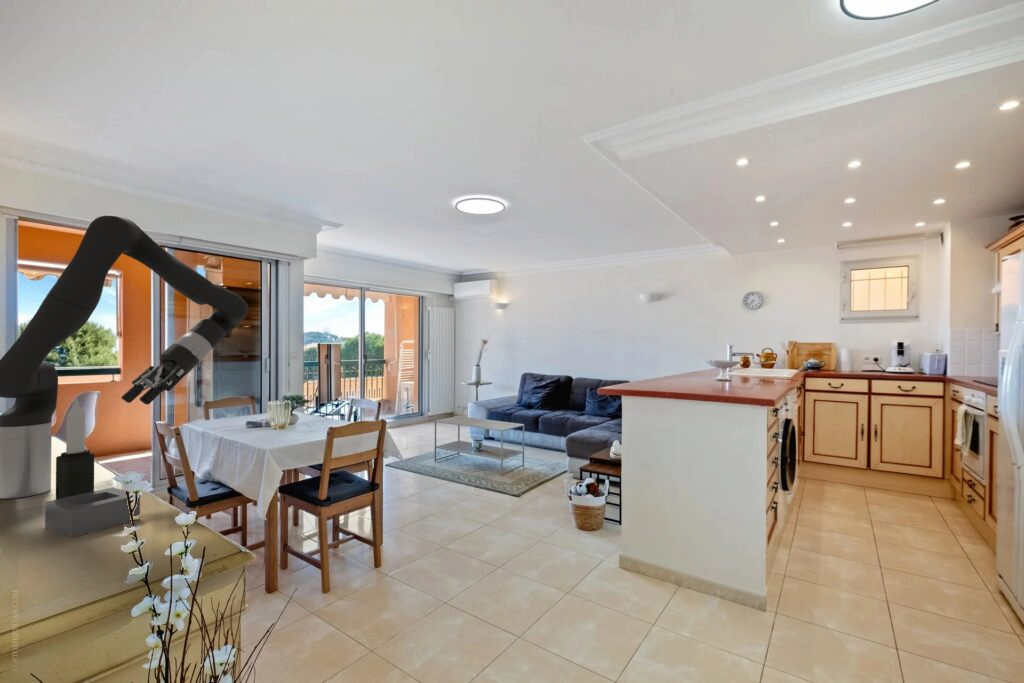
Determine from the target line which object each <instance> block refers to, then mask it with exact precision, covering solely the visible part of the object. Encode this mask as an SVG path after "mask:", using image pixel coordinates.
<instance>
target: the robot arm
mask: <svg viewBox="0 0 1024 683" xmlns="http://www.w3.org/2000/svg"><path fill="white" fill-rule="evenodd" d="M121 255H125V256H127V257H128V258H131V259H134V260H136V261H137V262H138V263H141V264H142V265H144V266H145V267H147V268H148V269H149V270H151V271H153V272H154V273H155V274H157V276H159V277H160V278H161V280H163V281H164V282H165V283H166V284H168V285H169V286H170V287H171V288H173V289H174V290H176V291H177V293H179V294H180V295H182V296H185V297H186V299H189V300H191V301H192V302H193V303H195V304H197V305H200V306H203V305H207V306H210V307H212V308H213V309H215V310H214V311H213V312H212V313H210V315H209V316H207V317H206V318H205V319H202V320H200V321H199V322H197V323H196V324H195V325H193V327H191V328H190V329H189V330H188V331H187V332H185V334H182V335H181V336H180V337H179V338H177V340H176V341H174V342H173V343H172V344H171V345H169V347H167V348H166V349H165V350H163V352H162V353H161V354H159V357H158V358H159V361H160V362H161V364H159V365H158V366H155V367H154V366H153V365H150V366H148V368H147V369H145V370H144V371H143V372H142V373H140V375H138V376H137V377H136V378H135V379H134V380H132V381H131V384H132V387H131V388H129V389H128V390H127V391H126V392H125V393H124V394H123V395H122V396H121V400H123V401H124V402H125V403H127V404H128V403H129V404H131V403H132V402H133V401H134V400H136V398H137V397H139V396H140V395H141V394H142V393H143V392H144V391H146V390H147V389H148V390H147V391H146V392H145V393H143V394H142V395H141V396H140V397H139V401H140V402H142V403H143V404H144V405H150V404H151V403H152V402H153V401H154V400H155V399H156V398H157V397H158V396H160V394H164V393H165V392H170V391H171V390H172V389H173V388H175V386H176V385H177V384H178V383H179V382H180V381H181V380H183V378H185V377H186V375H188V374H189V373H190V372H191V371H192V370H193V369H194V368H195V367H197V365H199V363H201V361H202V360H204V359H205V358H206V357H207V356H208V355H209V353H210V351H212V349H214V348H215V347H216V346H217V345H218V344H219V343H220V342H221V341H222V340H223V338H224V337H225V336H227V335H228V334H229V333H231V332H232V331H233V330H235V329H236V328H237V327H238V326H239V325H240V324H241V323H242V322H243V321H244V320H245V318H246V316H247V314H248V313H249V306H248V303H247V302H246V300H245V299H244V298H242V296H240V295H239V294H237V293H235V292H233V291H231V290H229V289H227V288H225V287H222V286H219V285H217V284H215V283H213V282H212V281H211V280H209V279H208V278H207V277H205V276H204V275H202V274H201V273H199V272H197V271H196V270H195V269H193V268H191V267H190V266H189V265H187V264H186V263H184V262H182V261H181V260H180V259H179V258H177V257H175V256H174V255H172V254H171V253H169V252H168V251H167V250H165V249H164V248H163V247H162V246H160V245H159V244H158V243H157V242H155V241H154V240H153V238H151V237H150V236H149V235H148V234H147V233H146V232H145V231H144V230H143V229H142V228H140V227H139V225H137V224H136V223H135V222H134V221H133V220H131V219H128V218H126V217H122V216H119V215H114V214H104V215H100V216H98V217H96V218H95V219H94V220H92V221H91V222H90V224H89V225H88V227H87V229H86V231H85V233H84V234H83V238H82V240H81V241H80V244H79V246H78V247H77V250H76V252H75V254H74V255H73V258H72V259H71V261H70V262H69V263H68V264H67V266H66V267H65V268H64V270H63V272H61V274H60V276H58V279H57V280H56V282H55V283H54V285H53V286H52V287H51V289H50V290H49V292H48V293H47V294H46V296H45V298H44V299H43V301H42V302H41V304H40V305H39V307H38V309H37V311H36V312H35V314H34V315H33V316H32V318H31V319H30V321H29V323H28V324H27V325H26V326H25V328H24V330H23V331H22V332H21V334H20V335H19V337H18V338H17V340H16V341H15V342H14V343H13V344H12V346H10V347H9V349H8V350H7V351H6V353H4V355H2V357H1V358H0V398H3V399H4V398H5V399H15V401H14V404H13V405H12V406H11V407H10V408H8V410H6V411H4V412H2V413H1V414H0V499H6V500H7V499H18V498H24V497H25V498H26V497H31V496H37V495H40V494H44V493H46V492H48V491H51V489H52V421H53V420H52V419H53V415H54V413H55V411H56V409H57V405H58V404H57V403H58V402H57V401H58V391H59V390H58V389H59V377H58V376H59V375H58V371H57V369H56V368H55V366H54V365H53V364H52V363H50V362H49V361H46V358H47V356H48V355H49V354H50V353H51V352H52V351H53V350H54V349H55V348H56V347H57V346H59V345H60V344H62V343H63V342H64V341H66V340H67V339H68V338H70V337H71V336H73V335H74V334H75V333H77V332H78V331H80V330H81V329H82V328H83V327H84V326H85V324H86V323H87V322H88V321H89V319H90V317H91V316H92V314H93V313H94V311H95V310H96V309H97V306H98V304H99V303H100V300H101V297H102V294H103V290H104V286H105V285H104V284H105V281H106V278H107V275H108V273H109V272H110V270H111V269H112V267H113V266H114V264H115V263H116V262H117V260H118V259H119V258H120V257H121Z"/></svg>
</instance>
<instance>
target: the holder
mask: <svg viewBox="0 0 1024 683" xmlns="http://www.w3.org/2000/svg"><path fill="white" fill-rule="evenodd" d="M126 491H127V490H124V489H119V488H115V487H108V488H103V489H99V490H94V492H89V493H84V494H80V495H75V496H70V497H66V498H61V499H56V498H55V499H52V500H48V501H45V502H44V503H45V506H44V528H46V527H47V529H49V528H50V529H49V530H51V529H52V530H51V531H54V532H56V531H57V532H56V533H58V534H61V533H62V534H61V535H63V534H65V535H64V536H66V535H67V536H66V537H68V536H70V537H69V538H71V537H72V538H75V537H74V536H76V537H79V536H82V535H81V534H83V535H85V533H87V534H89V533H88V532H90V533H93V532H92V531H94V532H97V530H98V531H101V530H104V529H108V528H112V527H115V526H119V525H122V523H123V524H126V523H130V522H131V521H130V513H129V509H128V505H127V497H126ZM139 514H140V515H141V494H139V498H138V502H137V507H136V509H135V511H134V516H137V515H139ZM124 522H126V523H124ZM78 535H79V536H78Z"/></svg>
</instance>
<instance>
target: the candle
mask: <svg viewBox="0 0 1024 683" xmlns="http://www.w3.org/2000/svg"><path fill="white" fill-rule="evenodd" d="M79 401H80V400H79V399H78V398H74V399H73V404H72V407H71V409H70V410H69V411H68V413H67V414H66V434H65V435H66V437H65V438H66V444H65V445H66V448H65V449H66V450H65V451H64V452H62V453H60V455H58V456H56V457H55V500H56V499H61V498H66V497H70V496H75V495H80V494H84V493H89V492H94V491H95V453H94V452H91V450H90V449H86V413H85V412H84V410H83V409H82V408H81V406H80V403H79Z"/></svg>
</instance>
